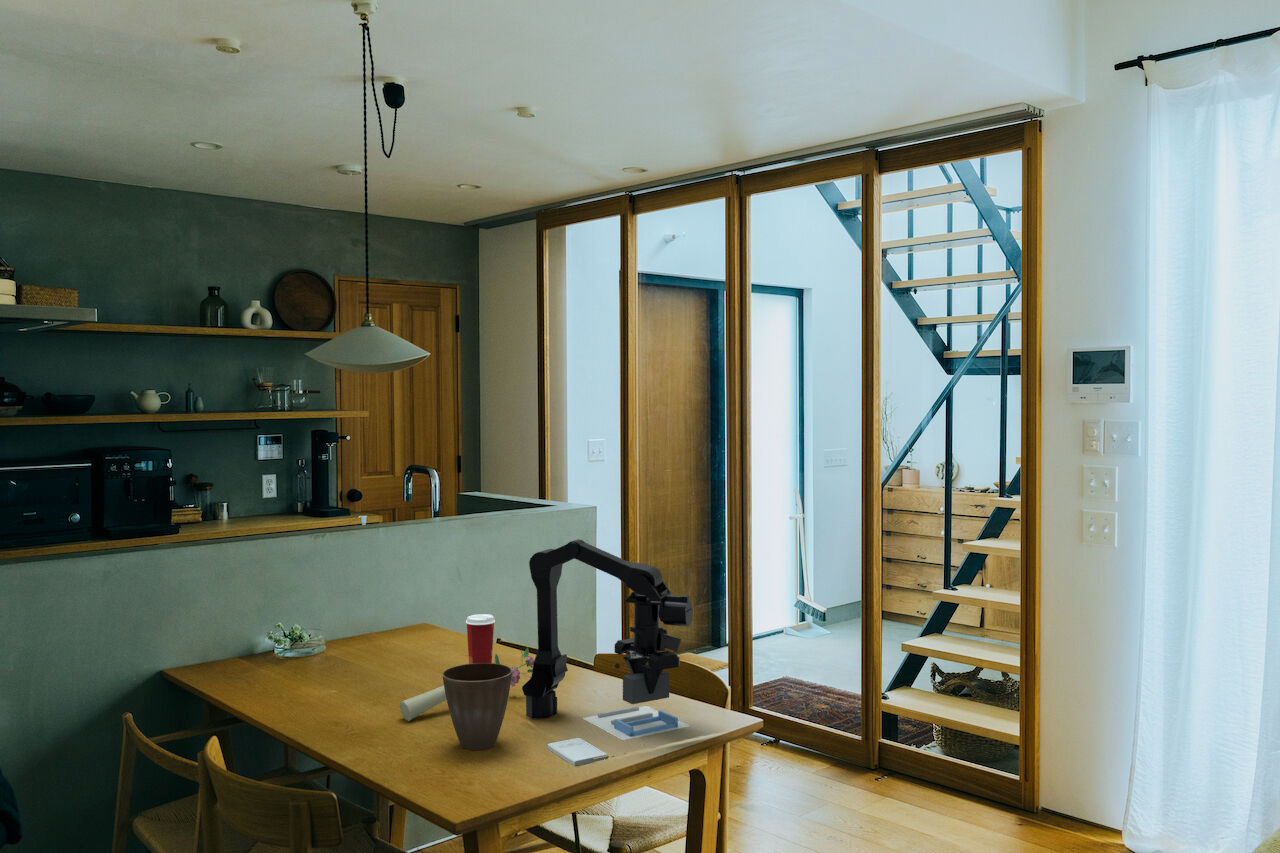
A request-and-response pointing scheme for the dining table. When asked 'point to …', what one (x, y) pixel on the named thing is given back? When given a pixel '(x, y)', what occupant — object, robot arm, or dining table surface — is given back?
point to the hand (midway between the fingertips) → (645, 691)
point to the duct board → (635, 722)
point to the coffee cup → (480, 638)
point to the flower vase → (436, 696)
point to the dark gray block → (644, 688)
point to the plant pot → (477, 702)
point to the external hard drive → (577, 751)
